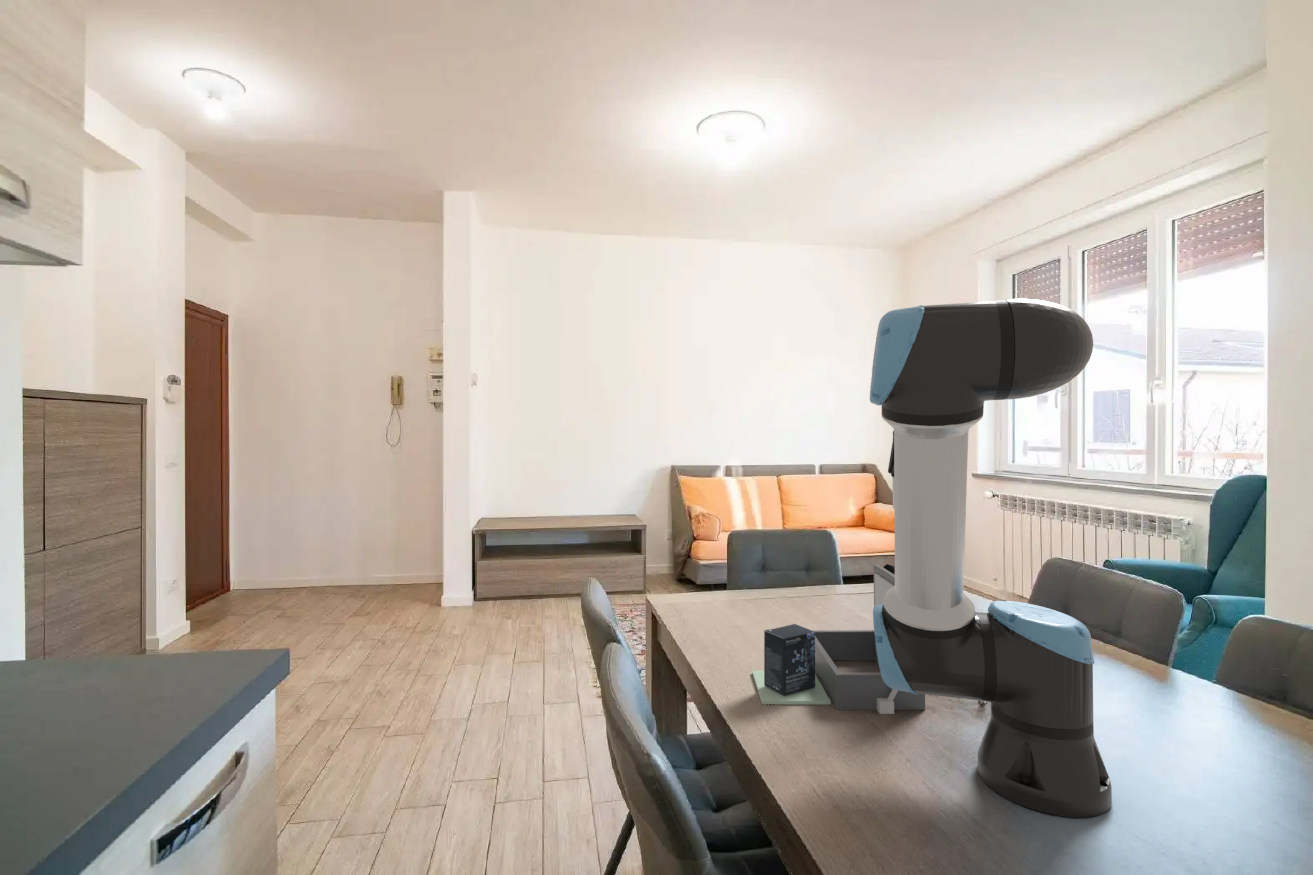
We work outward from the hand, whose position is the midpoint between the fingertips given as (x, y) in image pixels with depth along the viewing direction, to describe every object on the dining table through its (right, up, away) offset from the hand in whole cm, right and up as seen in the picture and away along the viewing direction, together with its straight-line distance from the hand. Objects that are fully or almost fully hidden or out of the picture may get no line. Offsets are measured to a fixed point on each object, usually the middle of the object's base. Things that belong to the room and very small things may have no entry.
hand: (912, 512), depth 119 cm
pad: (-26, -32, -6) cm, 42 cm away
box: (-26, -32, -7) cm, 41 cm away
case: (-12, -32, -4) cm, 34 cm away
